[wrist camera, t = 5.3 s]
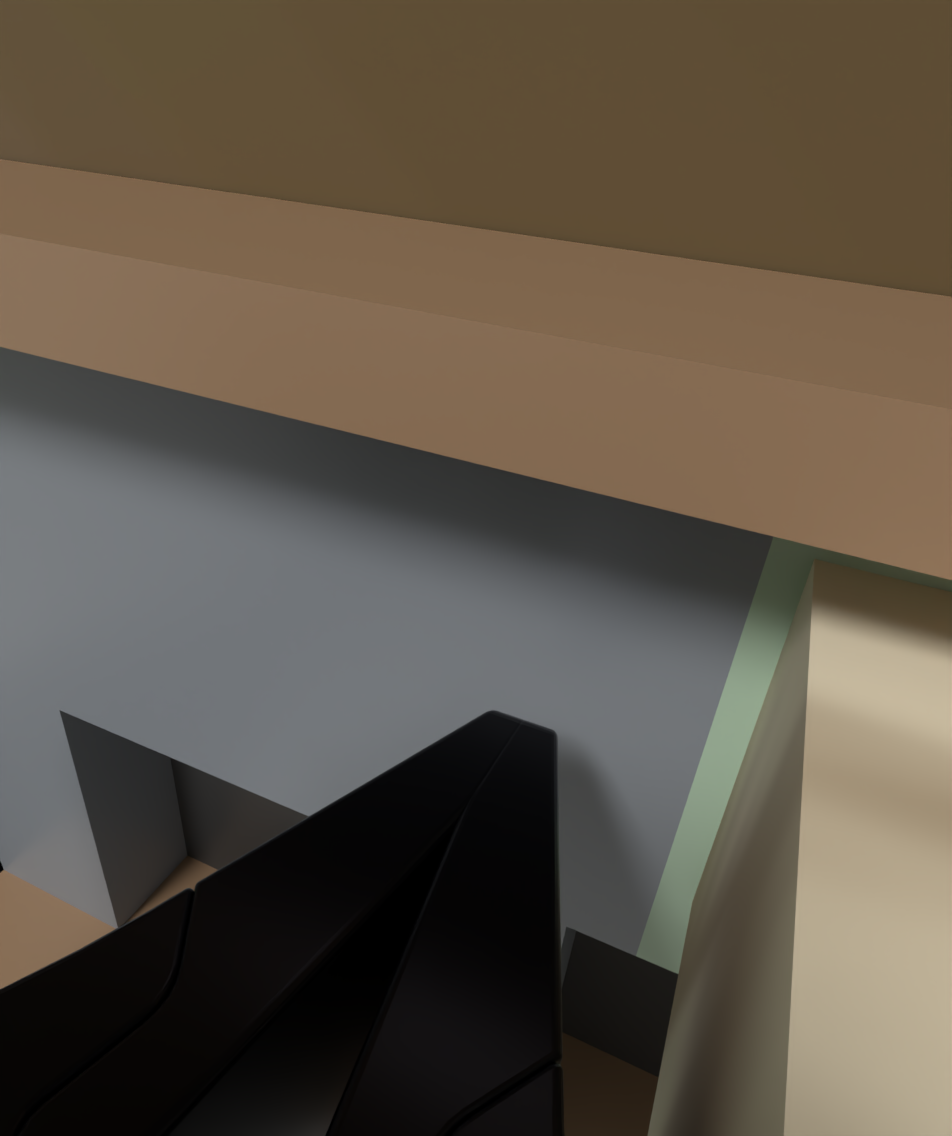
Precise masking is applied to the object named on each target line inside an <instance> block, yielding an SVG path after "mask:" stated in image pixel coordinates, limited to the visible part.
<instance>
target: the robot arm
mask: <svg viewBox="0 0 952 1136" xmlns="http://www.w3.org/2000/svg"><path fill="white" fill-rule="evenodd" d="M3 870H4V869H3V866H2V864H1V861H0V873H1V872H2V871H3ZM562 1057H563V1046H562V982H561V917H560V853H559V788H558V737H557V734H556V732H555V731H554V730H552V729H549V728H547V727H544V726H541V725H538V724H535V723H532V722H529V721H526V720H523V719H520V718H517V717H514V716H511V715H508V714H505V713H502V712H500V711H496V710H491V711H487V712H485V713H483V714H482V715H480V716H478V717H477V718H475V719H473V720H472V721H470V722H468V723H466V724H465V725H463V726H461V727H460V728H458V729H456V730H455V731H453V732H451V733H449V734H448V735H446V736H444V737H443V738H441V739H439V740H438V741H436V742H434V743H432V744H431V745H429V746H427V747H426V748H424V749H422V750H421V751H419V752H417V753H416V754H414V755H412V756H410V757H409V758H407V759H405V760H404V761H402V762H400V763H399V764H397V765H395V766H393V767H392V768H390V769H388V770H387V771H385V772H383V773H382V774H380V775H378V776H377V777H375V778H373V779H371V780H370V781H368V782H366V783H365V784H363V785H361V786H360V787H358V788H356V789H354V790H353V791H351V792H349V793H348V794H346V795H344V796H343V797H341V798H339V799H338V800H336V801H334V802H332V803H331V804H329V805H327V806H326V807H324V808H322V809H321V810H319V811H317V812H315V813H314V814H312V815H310V816H309V817H307V818H305V819H304V820H302V821H300V822H299V823H297V824H295V825H293V826H292V827H290V828H288V829H287V830H285V831H283V832H282V833H280V834H278V835H276V836H275V837H273V838H271V839H270V840H268V841H266V842H265V843H263V844H261V845H260V846H258V847H256V848H254V849H253V850H251V851H249V852H248V853H246V854H244V855H243V856H241V857H239V858H237V859H236V860H234V861H232V862H231V863H229V864H227V865H226V866H224V867H222V868H220V869H219V870H217V871H215V872H214V873H212V874H210V875H209V876H207V877H205V878H204V879H202V880H200V881H198V882H197V883H196V885H195V889H194V891H193V889H191V888H186V889H184V890H183V891H181V892H179V893H177V894H176V895H174V896H172V897H171V898H169V899H167V900H166V901H164V902H162V903H160V904H159V905H157V906H155V907H154V908H152V909H150V910H149V911H147V912H145V913H143V914H141V915H140V916H138V917H136V918H134V919H133V920H131V921H129V922H127V923H125V924H124V925H122V926H120V927H118V928H116V929H115V930H113V931H111V932H109V933H108V934H106V935H104V936H102V937H100V938H99V939H97V940H95V941H93V942H91V943H90V944H88V945H86V946H84V947H82V948H81V949H79V950H77V951H75V952H73V953H71V954H69V955H67V956H65V957H63V958H61V959H59V960H57V961H55V962H53V963H51V964H49V965H47V966H45V967H43V968H41V969H39V970H37V971H35V972H33V973H31V974H29V975H27V976H25V977H23V978H21V979H19V980H17V981H15V982H13V983H11V984H9V985H7V986H5V987H4V988H1V989H0V1136H565V1134H564V1079H563V1068H562V1066H561V1061H562Z"/></svg>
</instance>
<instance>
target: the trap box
mask: <svg viewBox="0 0 952 1136" xmlns="http://www.w3.org/2000/svg"><path fill="white" fill-rule="evenodd" d="M814 559H817V560H821V561H825V562H829V563H834V564H838V565H842V566H846V567H850V568H854V569H858V570H862V571H867V572H871V573H875V574H879V575H883V576H887V577H891V578H895V579H900V580H904V581H908V582H912V583H916V584H920V585H924V586H928V587H933V588H937V589H941V590H945V591H949V592H952V297H949V296H942V295H935V294H928V293H922V292H915V291H908V290H901V289H894V288H887V287H880V286H873V285H866V284H859V283H852V282H846V281H839V280H832V279H825V278H818V277H811V276H804V275H797V274H790V273H783V272H776V271H770V270H763V269H756V268H749V267H742V266H735V265H728V264H721V263H714V262H707V261H700V260H694V259H687V258H680V257H673V256H666V255H659V254H652V253H645V252H638V251H631V250H624V249H617V248H611V247H604V246H597V245H590V244H583V243H576V242H569V241H562V240H555V239H548V238H541V237H535V236H528V235H521V234H514V233H507V232H500V231H493V230H486V229H479V228H472V227H465V226H459V225H452V224H445V223H438V222H431V221H424V220H417V219H410V218H403V217H396V216H389V215H383V214H376V213H369V212H362V211H355V210H348V209H341V208H334V207H327V206H320V205H313V204H306V203H300V202H293V201H286V200H279V199H272V198H265V197H258V196H251V195H244V194H237V193H230V192H224V191H217V190H210V189H203V188H196V187H189V186H182V185H175V184H168V183H161V182H154V181H148V180H141V179H134V178H127V177H120V176H113V175H106V174H99V173H92V172H85V171H78V170H72V169H65V168H58V167H51V166H44V165H37V164H30V163H23V162H16V161H9V160H2V159H0V861H1V864H2V866H3V869H4V870H3V871H2V872H1V873H0V989H1V988H4V987H5V986H7V985H9V984H11V983H13V982H15V981H17V980H19V979H21V978H23V977H25V976H27V975H29V974H31V973H33V972H35V971H37V970H39V969H41V968H43V967H45V966H47V965H49V964H51V963H53V962H55V961H57V960H59V959H61V958H63V957H65V956H67V955H69V954H71V953H73V952H75V951H77V950H79V949H81V948H82V947H84V946H86V945H88V944H90V943H91V942H93V941H95V940H97V939H99V938H100V937H102V936H104V935H106V934H108V933H109V932H111V931H113V930H115V929H116V928H118V927H120V926H122V925H124V924H125V923H127V922H129V921H131V920H133V919H134V918H136V917H138V916H140V915H141V914H143V913H145V912H147V911H149V910H150V909H152V908H154V907H155V906H157V905H159V904H160V903H162V902H164V901H166V900H167V899H169V898H171V897H172V896H174V895H176V894H177V893H179V892H181V891H183V890H184V889H186V888H191V889H193V891H194V889H195V885H196V883H197V882H198V881H200V880H202V879H204V878H205V877H207V876H209V875H210V874H212V873H214V872H215V871H217V870H219V869H220V868H222V867H224V866H226V865H227V864H229V863H231V862H232V861H234V860H236V859H237V858H239V857H241V856H243V855H244V854H246V853H248V852H249V851H251V850H253V849H254V848H256V847H258V846H260V845H261V844H263V843H265V842H266V841H268V840H270V839H271V838H273V837H275V836H276V835H278V834H280V833H282V832H283V831H285V830H287V829H288V828H290V827H292V826H293V825H295V824H297V823H299V822H300V821H302V820H304V819H305V818H307V817H309V816H310V815H312V814H314V813H315V812H317V811H319V810H321V809H322V808H324V807H326V806H327V805H329V804H331V803H332V802H334V801H336V800H338V799H339V798H341V797H343V796H344V795H346V794H348V793H349V792H351V791H353V790H354V789H356V788H358V787H360V786H361V785H363V784H365V783H366V782H368V781H370V780H371V779H373V778H375V777H377V776H378V775H380V774H382V773H383V772H385V771H387V770H388V769H390V768H392V767H393V766H395V765H397V764H399V763H400V762H402V761H404V760H405V759H407V758H409V757H410V756H412V755H414V754H416V753H417V752H419V751H421V750H422V749H424V748H426V747H427V746H429V745H431V744H432V743H434V742H436V741H438V740H439V739H441V738H443V737H444V736H446V735H448V734H449V733H451V732H453V731H455V730H456V729H458V728H460V727H461V726H463V725H465V724H466V723H468V722H470V721H472V720H473V719H475V718H477V717H478V716H480V715H482V714H483V713H485V712H487V711H491V710H496V711H500V712H502V713H505V714H508V715H511V716H514V717H517V718H520V719H523V720H526V721H529V722H532V723H535V724H538V725H541V726H544V727H547V728H549V729H552V730H554V731H555V732H556V734H557V737H558V788H559V853H560V917H561V982H562V1046H563V1057H562V1061H561V1066H562V1068H563V1079H564V1134H565V1136H648V1131H649V1125H650V1120H651V1115H652V1110H653V1104H654V1099H655V1094H656V1089H657V1084H658V1078H659V1073H660V1068H661V1063H662V1057H663V1052H664V1047H665V1042H666V1037H667V1031H668V1026H669V1021H670V1016H671V1010H672V1005H673V1000H674V995H675V990H676V984H677V979H678V974H679V969H680V963H681V958H682V953H683V948H684V943H685V937H686V932H687V927H688V922H689V916H690V911H691V906H692V901H693V899H694V896H695V893H696V890H697V887H698V885H699V882H700V879H701V876H702V873H703V870H704V868H705V865H706V862H707V859H708V856H709V854H710V851H711V848H712V845H713V842H714V840H715V837H716V834H717V831H718V828H719V826H720V823H721V820H722V817H723V814H724V811H725V809H726V806H727V803H728V800H729V797H730V795H731V792H732V789H733V786H734V783H735V781H736V778H737V775H738V772H739V769H740V766H741V764H742V761H743V758H744V755H745V752H746V750H747V747H748V744H749V741H750V738H751V736H752V733H753V730H754V727H755V724H756V722H757V719H758V716H759V713H760V710H761V707H762V705H763V702H764V699H765V696H766V693H767V691H768V688H769V685H770V682H771V679H772V677H773V674H774V671H775V668H776V665H777V662H778V660H779V657H780V654H781V651H782V648H783V646H784V643H785V640H786V637H787V634H788V632H789V629H790V626H791V623H792V620H793V618H794V615H795V612H796V609H797V606H798V603H799V601H800V598H801V595H802V592H803V589H804V587H805V584H806V581H807V578H808V575H809V573H810V570H811V567H812V564H813V561H814Z"/></svg>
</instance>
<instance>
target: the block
mask: <svg viewBox="0 0 952 1136" xmlns="http://www.w3.org/2000/svg"><path fill="white" fill-rule="evenodd" d="M648 1136H952V592H949V591H945V590H941V589H937V588H933V587H928V586H924V585H920V584H916V583H912V582H908V581H904V580H900V579H895V578H891V577H887V576H883V575H879V574H875V573H871V572H867V571H862V570H858V569H854V568H850V567H846V566H842V565H838V564H834V563H829V562H825V561H821V560H817V559H814V561H813V564H812V567H811V570H810V573H809V575H808V578H807V581H806V584H805V587H804V589H803V592H802V595H801V598H800V601H799V603H798V606H797V609H796V612H795V615H794V618H793V620H792V623H791V626H790V629H789V632H788V634H787V637H786V640H785V643H784V646H783V648H782V651H781V654H780V657H779V660H778V662H777V665H776V668H775V671H774V674H773V677H772V679H771V682H770V685H769V688H768V691H767V693H766V696H765V699H764V702H763V705H762V707H761V710H760V713H759V716H758V719H757V722H756V724H755V727H754V730H753V733H752V736H751V738H750V741H749V744H748V747H747V750H746V752H745V755H744V758H743V761H742V764H741V766H740V769H739V772H738V775H737V778H736V781H735V783H734V786H733V789H732V792H731V795H730V797H729V800H728V803H727V806H726V809H725V811H724V814H723V817H722V820H721V823H720V826H719V828H718V831H717V834H716V837H715V840H714V842H713V845H712V848H711V851H710V854H709V856H708V859H707V862H706V865H705V868H704V870H703V873H702V876H701V879H700V882H699V885H698V887H697V890H696V893H695V896H694V899H693V901H692V906H691V911H690V916H689V922H688V927H687V932H686V937H685V943H684V948H683V953H682V958H681V963H680V969H679V974H678V979H677V984H676V990H675V995H674V1000H673V1005H672V1010H671V1016H670V1021H669V1026H668V1031H667V1037H666V1042H665V1047H664V1052H663V1057H662V1063H661V1068H660V1073H659V1078H658V1084H657V1089H656V1094H655V1099H654V1104H653V1110H652V1115H651V1120H650V1125H649V1131H648Z"/></svg>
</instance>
